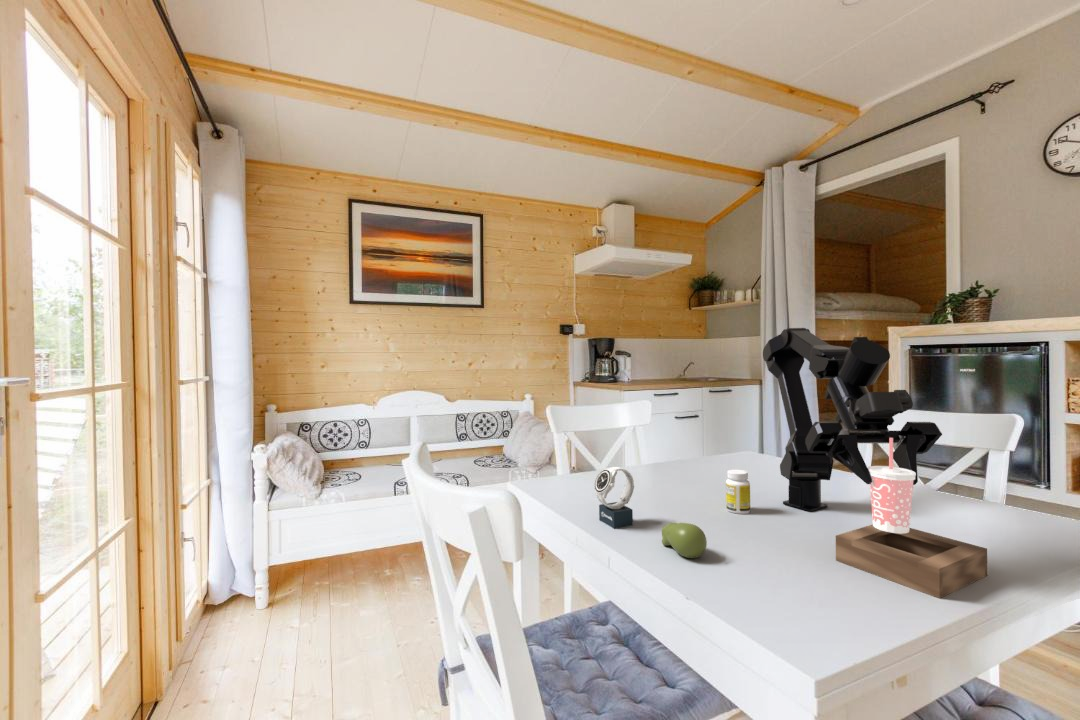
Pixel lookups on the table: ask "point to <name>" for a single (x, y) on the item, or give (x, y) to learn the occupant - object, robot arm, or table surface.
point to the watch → (616, 511)
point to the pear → (685, 539)
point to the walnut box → (913, 558)
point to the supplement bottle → (738, 492)
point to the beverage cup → (891, 496)
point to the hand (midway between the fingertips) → (892, 483)
